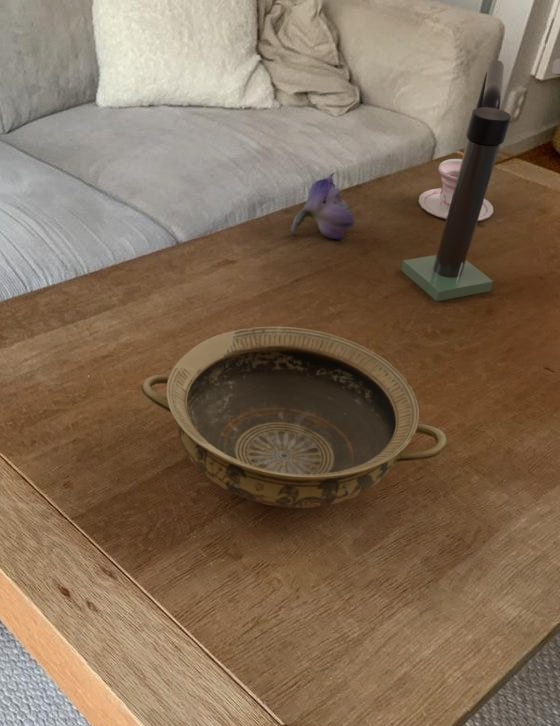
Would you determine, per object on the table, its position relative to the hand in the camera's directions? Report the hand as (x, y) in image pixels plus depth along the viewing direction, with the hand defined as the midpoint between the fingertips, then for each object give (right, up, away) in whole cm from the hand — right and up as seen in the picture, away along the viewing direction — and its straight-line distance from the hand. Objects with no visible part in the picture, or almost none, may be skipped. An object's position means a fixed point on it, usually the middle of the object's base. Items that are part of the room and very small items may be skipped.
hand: (554, 67), depth 111 cm
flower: (-30, -19, +13) cm, 38 cm away
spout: (-10, -11, +5) cm, 15 cm away
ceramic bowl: (-40, -55, -27) cm, 73 cm away
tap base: (-14, -28, +4) cm, 32 cm away
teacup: (-7, -12, +22) cm, 26 cm away
